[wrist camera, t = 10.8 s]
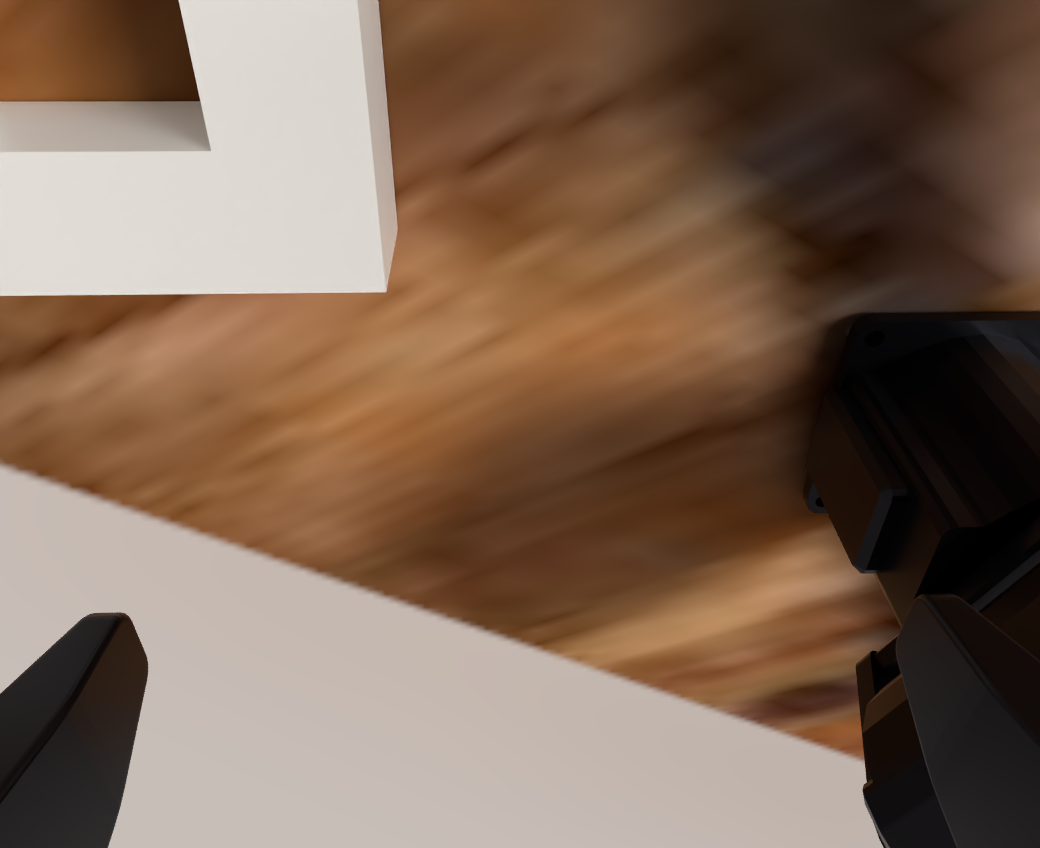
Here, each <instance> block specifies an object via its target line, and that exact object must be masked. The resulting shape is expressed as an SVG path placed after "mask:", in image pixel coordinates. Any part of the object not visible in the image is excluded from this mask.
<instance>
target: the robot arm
mask: <svg viewBox="0 0 1040 848" xmlns="http://www.w3.org/2000/svg"><path fill="white" fill-rule="evenodd" d="M876 330H879V331H878V333H877V335H876V336H874V337H873V338H871V339H865V338H866V336H867V335H868V334H869V333H870V332H872V331H876ZM805 465H806V469H807V471H808V477H807V480H806V484H805V487H804V490H803V498H804V500H805V502H806V505H807V507H808V508H809V510H811V511H812V512H814V513H828V515H829V517H830V519H831V521H832V523H833V525H834V528H835V530H836V532H837V534H838V536H839V538H840V540H841V542H842V544H843V546H844V549H845V551H846V553H847V555H848V557H849V559H850V561H851V563H852V565H853V566H854V567H855V568H856V569H857V570H858V571H859V572H860V573H863V574H864V573H874V574H875V576H876V578H877V580H878V582H879V584H880V586H881V588H882V590H883V592H884V595H885V597H886V599H887V601H888V603H889V605H890V607H891V609H892V611H893V613H894V615H895V617H896V619H897V621H898V623H899V625H900V627H901V630H900V632H899V634H898V635H897V636H896V637H894V638H893V639H892V640H891V641H890V642H888V643H887V644H886V645H885V646H884V647H882V648H881V649H880V650H879V651H878V652H877V651H871V652H870V653H869V654H868V655H866V656H865V657H864V658H863V659H862V660H861V661H859V662H858V663H857V664H856V675H857V685H858V696H859V706H860V716H861V727H862V737H863V748H864V758H865V768H866V779H867V783H866V784H864V786H863V795H864V801H865V805H866V807H867V809H868V812H869V814H870V816H871V818H872V820H873V823H874V825H875V828H876V831H877V833H878V836H879V839H880V841H881V843H882V845H883V847H884V848H1040V312H985V313H890V314H869V315H865V316H863V317H861V318H859V319H858V320H857V321H856V322H855V323H854V324H853V325H852V327H851V329H850V331H849V334H848V338H847V341H846V345H845V348H844V352H843V355H842V359H841V362H840V366H839V369H838V373H837V376H836V380H835V383H834V386H833V389H831V390H830V391H829V392H828V393H827V394H826V395H825V397H824V399H823V403H822V406H821V410H820V413H819V417H818V421H817V424H816V428H815V431H814V435H813V438H812V442H811V445H810V449H809V452H808V456H807V459H806V464H805ZM818 497H820V498H818ZM147 677H148V661H147V657H146V654H145V651H144V649H143V647H142V644H141V642H140V639H139V637H138V635H137V633H136V630H135V627H134V625H133V623H132V621H131V619H130V617H129V616H128V615H126V614H125V613H93V614H89V615H87V616H86V617H84V618H82V619H81V620H80V621H79V622H78V623H77V624H76V625H75V626H74V627H72V628H71V629H70V630H69V631H68V632H67V633H66V634H65V635H64V636H63V637H61V639H59V640H58V641H57V642H56V643H55V644H54V645H53V646H52V647H51V648H50V649H48V650H47V651H46V652H45V653H44V654H43V655H42V656H41V657H40V658H39V659H38V660H37V661H35V662H34V663H33V664H32V665H31V666H30V667H29V668H28V669H27V670H26V671H25V672H24V673H22V674H21V675H20V676H19V677H18V678H17V679H16V680H15V681H14V682H13V683H12V684H11V685H9V686H8V687H7V688H6V689H5V690H4V691H3V692H2V693H1V694H0V848H108V845H109V842H110V839H111V836H112V833H113V830H114V826H115V823H116V819H117V816H118V813H119V809H120V806H121V801H122V797H123V793H124V788H125V784H126V778H127V774H128V769H129V764H130V760H131V755H132V750H133V745H134V740H135V735H136V730H137V726H138V721H139V716H140V711H141V706H142V702H143V697H144V692H145V687H146V682H147Z"/></svg>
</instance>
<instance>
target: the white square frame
mask: <svg viewBox="0 0 1040 848" xmlns="http://www.w3.org/2000/svg"><path fill="white" fill-rule="evenodd" d="M179 4H180V9H181V14H182V18H183V23H184V28H185V32H186V37H187V41H188V46H189V51H190V55H191V60H192V65H193V69H194V74H195V78H196V83H197V88H198V92H199V97H200V101H105V102H0V296H33V295H140V294H246V293H352V292H386V290H387V285H388V280H389V274H390V269H391V263H392V258H393V253H394V247H395V242H396V237H397V231H398V226H397V215H396V203H395V191H394V179H393V167H392V156H391V144H390V132H389V120H388V108H387V97H386V85H385V73H384V61H383V49H382V38H381V26H380V14H379V2H378V0H179Z"/></svg>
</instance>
